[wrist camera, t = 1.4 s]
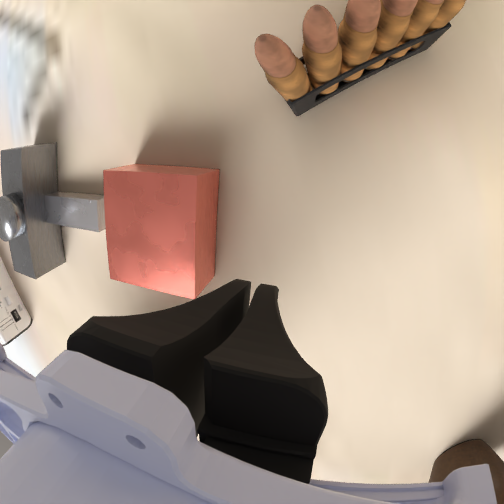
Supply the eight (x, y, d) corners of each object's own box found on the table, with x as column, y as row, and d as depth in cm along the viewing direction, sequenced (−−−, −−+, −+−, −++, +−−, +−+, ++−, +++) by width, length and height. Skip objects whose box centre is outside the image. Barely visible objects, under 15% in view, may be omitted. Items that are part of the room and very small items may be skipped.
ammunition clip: (413, 25, 14) (480, -67, 3) (428, 48, 14) (515, -27, 3) (281, 93, 18) (215, 34, 7) (296, 117, 18) (251, 81, 7)
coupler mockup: (116, 275, 26) (73, 306, 20) (42, 255, 28) (3, 276, 23) (110, 139, 22) (56, 144, 16) (33, 145, 24) (-13, 153, 18)
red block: (214, 275, 23) (194, 299, 20) (137, 260, 25) (110, 278, 21) (219, 169, 20) (197, 175, 17) (134, 163, 22) (103, 170, 18)
